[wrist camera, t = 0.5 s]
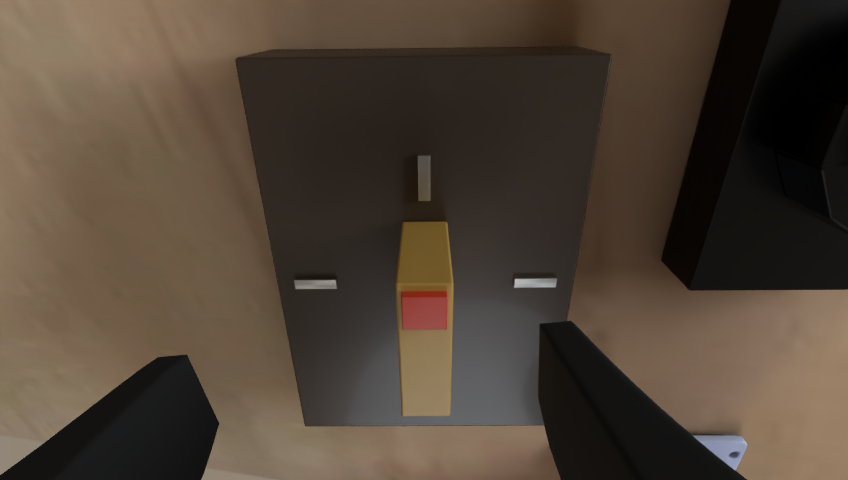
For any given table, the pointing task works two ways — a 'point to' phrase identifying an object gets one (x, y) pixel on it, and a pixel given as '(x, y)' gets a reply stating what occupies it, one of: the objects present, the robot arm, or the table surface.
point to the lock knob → (424, 318)
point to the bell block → (769, 155)
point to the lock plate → (423, 211)
